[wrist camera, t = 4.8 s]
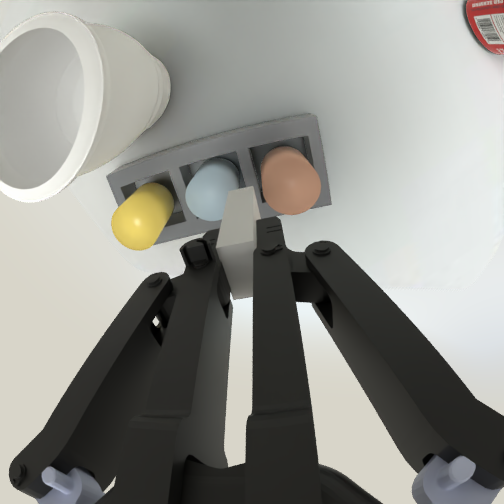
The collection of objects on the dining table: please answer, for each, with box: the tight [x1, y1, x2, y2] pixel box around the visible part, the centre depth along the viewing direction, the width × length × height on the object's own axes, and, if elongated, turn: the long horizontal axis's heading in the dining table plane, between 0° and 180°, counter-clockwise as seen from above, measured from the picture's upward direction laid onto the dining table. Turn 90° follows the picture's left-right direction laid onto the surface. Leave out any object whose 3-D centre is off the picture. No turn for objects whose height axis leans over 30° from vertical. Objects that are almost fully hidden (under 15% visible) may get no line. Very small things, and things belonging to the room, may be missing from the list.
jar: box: [0, 12, 171, 202], centre depth 15 cm, size 11×10×15 cm
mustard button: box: [111, 182, 174, 250], centre depth 23 cm, size 4×4×5 cm
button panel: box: [106, 114, 332, 245], centre depth 25 cm, size 8×19×3 cm, turn 104°
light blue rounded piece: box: [185, 158, 240, 221], centre depth 24 cm, size 4×4×5 cm
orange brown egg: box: [261, 146, 321, 215], centre depth 21 cm, size 4×4×5 cm
